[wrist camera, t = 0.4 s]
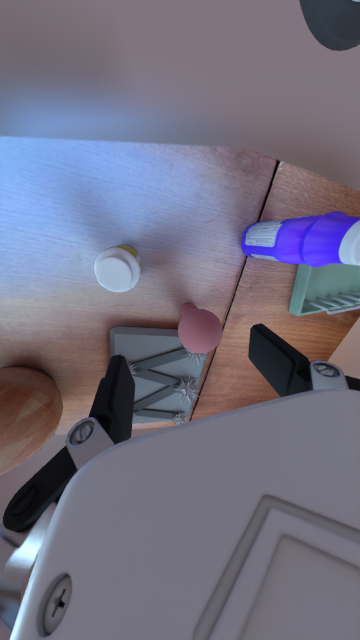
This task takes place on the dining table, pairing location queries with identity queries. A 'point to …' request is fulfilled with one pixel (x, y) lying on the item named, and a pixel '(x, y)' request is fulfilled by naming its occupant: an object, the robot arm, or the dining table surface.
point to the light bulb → (198, 329)
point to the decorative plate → (159, 372)
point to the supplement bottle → (118, 268)
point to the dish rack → (325, 289)
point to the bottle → (306, 240)
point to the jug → (26, 414)
